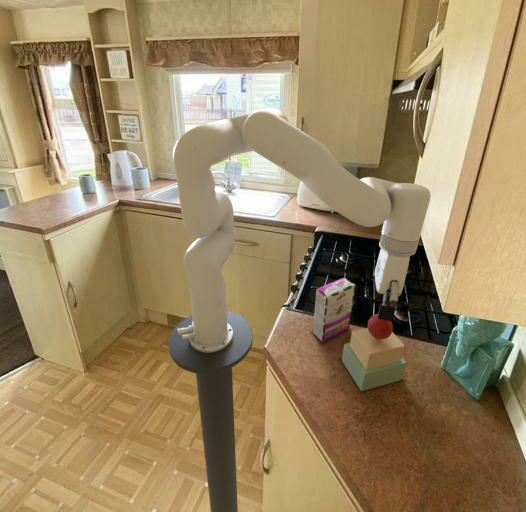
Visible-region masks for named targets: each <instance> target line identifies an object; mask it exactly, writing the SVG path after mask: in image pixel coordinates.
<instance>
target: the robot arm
mask: <svg viewBox="0 0 526 512" xmlns="http://www.w3.org/2000/svg"><path fill="white" fill-rule="evenodd" d="M251 152H254V153H256V154H258V155H259V156H261V157H263V158H264V159H266V160H267V161H269V162H270V163H273V164H274V165H276V166H277V167H278V168H281V169H282V170H284V171H285V172H286V173H288V174H290V175H292V176H293V177H294V178H296V179H297V180H299V181H301V183H302V184H303V185H304V186H305V187H306V188H307V189H308V190H309V191H311V193H312V194H314V195H315V196H316V197H317V198H318V199H319V200H320V201H321V202H322V203H324V204H325V205H326V206H327V207H329V208H330V209H331V210H333V211H335V212H336V213H338V214H340V216H343V217H344V218H346V219H348V220H349V221H351V222H353V223H355V224H356V225H359V226H362V227H366V228H375V227H378V226H380V225H382V224H383V225H382V228H381V229H382V230H381V234H380V238H379V243H378V246H379V248H380V250H379V253H378V258H377V262H376V265H375V269H374V281H375V288H374V294H377V295H381V296H382V302H380V304H379V309H378V313H377V314H378V319H382V320H387V321H391V322H392V321H394V317H395V313H396V311H397V306H398V301H399V297H400V296H401V295H402V292H403V289H404V286H405V282H406V278H407V274H408V270H409V263H410V257H411V256H414V255H415V254H416V253H417V249H418V246H419V242H420V238H421V234H422V231H423V227H424V223H425V219H426V216H427V212H428V208H429V206H430V202H431V198H432V194H431V191H430V189H429V188H427V187H426V186H423V185H421V184H416V183H411V182H395V181H390V180H387V179H386V180H385V179H383V178H377V177H372V176H367V177H366V176H365V177H362V178H359V177H356V176H355V175H353V174H352V173H351V172H349V171H348V170H347V169H346V168H345V167H343V166H342V165H341V164H340V163H339V162H338V161H337V160H336V159H335V157H334V156H333V154H332V152H331V151H330V150H329V149H328V147H327V146H326V145H324V144H323V143H322V142H320V141H319V140H317V139H315V138H314V137H313V136H311V135H309V134H308V133H306V132H304V131H302V130H301V129H299V128H298V127H296V126H294V125H293V124H292V123H290V121H289V118H288V116H287V115H286V114H285V113H284V112H282V111H281V110H280V109H277V108H273V107H266V108H262V109H258V110H255V111H253V112H250V113H247V114H243V115H238V116H235V117H234V116H233V117H230V118H226V119H222V120H217V121H213V122H207V123H204V124H201V125H197V126H195V127H193V128H191V129H188V130H187V131H186V132H185V133H183V134H182V135H181V136H180V137H179V138H178V139H177V140H176V143H175V144H174V147H173V151H172V164H173V169H174V173H175V179H176V183H177V190H178V199H179V205H180V213H181V219H182V224H183V227H184V229H185V231H186V233H187V234H188V235H189V236H190V237H192V238H195V240H194V241H193V242H192V243H191V245H189V247H188V248H187V250H186V251H185V253H184V255H183V260H182V261H183V262H182V263H183V264H182V265H183V268H184V272H185V275H186V276H187V281H188V286H189V296H190V303H191V316H192V315H193V321H192V325H191V326H189V327H187V328H180V329H177V330H178V336H180V335H182V338H183V340H186V339H189V340H190V344H191V346H192V347H193V348H194V349H196V350H198V351H200V352H206V353H210V352H216V351H219V350H222V349H224V348H225V347H226V346H228V345H229V344H230V342H231V341H232V338H233V329H232V327H231V326H230V325H229V324H228V323H227V311H228V307H227V289H226V287H227V286H226V280H225V277H224V275H223V267H224V264H225V263H226V262H227V260H228V259H229V258H230V256H231V255H232V253H233V252H234V249H235V247H236V230H235V229H236V227H235V217H234V216H235V215H234V206H233V203H232V201H231V199H230V197H229V196H228V194H227V193H226V192H224V191H223V190H221V189H219V188H216V182H215V177H214V174H213V172H212V169H211V168H212V167H213V166H215V165H218V164H221V163H222V162H224V161H226V160H228V159H230V158H232V157H234V156H237V155H241V154H245V153H251ZM430 194H431V195H430ZM430 197H431V198H430ZM387 296H389V299H387ZM188 333H190V334H188ZM184 334H186V335H184Z"/></svg>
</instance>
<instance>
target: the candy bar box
mask: <svg viewBox="0 0 526 512" xmlns="http://www.w3.org/2000/svg"><path fill="white" fill-rule="evenodd" d="M355 291H356V284H355V283H353V282H351V281H350V280H348V279H347V278H345V277H342V278H340V279H338V280H335V281H333V282H330V283H328V284H326V285H323V286H320V287H318V288H316V290H315V292H316V293H315V301H314V313H313V314H314V315H313V325H312V334H313V335H314V336H315V337H317V338H318V339H319V341H320V342H321V343H325V342H326V341H328V340H330V339H332V338H333V337H335V336H337V335H340V334H342V333H343V332H346V331H348V330H349V329H350V325H351V318H352V311H353V303H354V297H355Z"/></svg>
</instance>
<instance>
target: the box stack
mask: <svg viewBox="0 0 526 512" xmlns="http://www.w3.org/2000/svg"><path fill="white" fill-rule="evenodd" d="M349 341H350V342H346V343H344V344H343V350H342V351H343V352H342V356H341V362H342V363H343V365H344V367H345V368H346V369H347V371H348V372H349V374H350V377H352V379H353V381H354V382H355V384H356V385H357V387H358V388H359V390H360V391H361V392H363V391H367V390H370V389H374V388H377V387H382V386H385V385H388V384H389V385H390V384H393V383H396V382H399V381H403V378H404V375H405V370H406V367H407V364H408V362H407V361H406V360H405V359H404V358H403V354H404V350H405V348H406V347H405V346H406V345H405V344H404V343H403V342H402V340H400V338H398V336H397V335H396V334H395V333H394V332H393V331H392V334H391V335H390V336H389V337H388V338H386V339H376V338H375V337H373V336H372V335H371V334H370V332H369V330H368V327H365V328H361V329H356V330H352V331H351V335H350V340H349Z"/></svg>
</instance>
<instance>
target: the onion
mask: <svg viewBox="0 0 526 512" xmlns="http://www.w3.org/2000/svg"><path fill="white" fill-rule="evenodd" d="M393 326H394V325H393V323H392V321H387V320H382V319H378V313H376V314H373V315H372V316H371V317H370V318H369V319H368V321H367V328H368V330H369V332H370V334H371V335H372V336H373V337H375V338H376V339H386V338H388V337H389V336H390V335H391V334H392V332H393V329H394V327H393Z"/></svg>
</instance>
